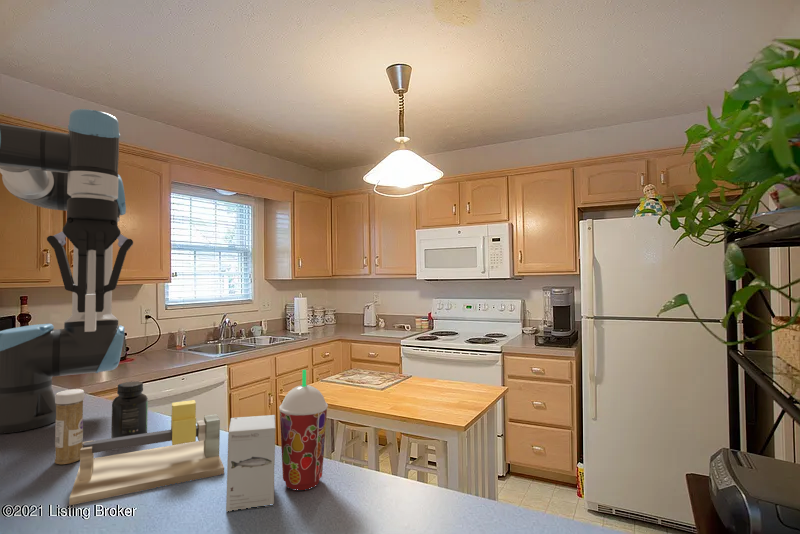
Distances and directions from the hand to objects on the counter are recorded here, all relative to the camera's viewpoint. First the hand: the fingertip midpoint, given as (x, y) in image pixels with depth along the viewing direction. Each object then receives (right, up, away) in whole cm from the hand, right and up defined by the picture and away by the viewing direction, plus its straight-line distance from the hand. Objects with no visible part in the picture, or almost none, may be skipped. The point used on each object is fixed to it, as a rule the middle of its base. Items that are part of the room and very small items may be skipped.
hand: (90, 330), depth 80 cm
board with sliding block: (+9, -27, +3) cm, 28 cm away
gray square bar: (+9, -21, +3) cm, 23 cm away
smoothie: (+38, -27, -1) cm, 47 cm away
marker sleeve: (+14, -22, +6) cm, 26 cm away
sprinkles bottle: (-9, -27, +7) cm, 29 cm away
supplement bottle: (-5, -27, +19) cm, 33 cm away
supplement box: (+31, -27, -7) cm, 42 cm away
